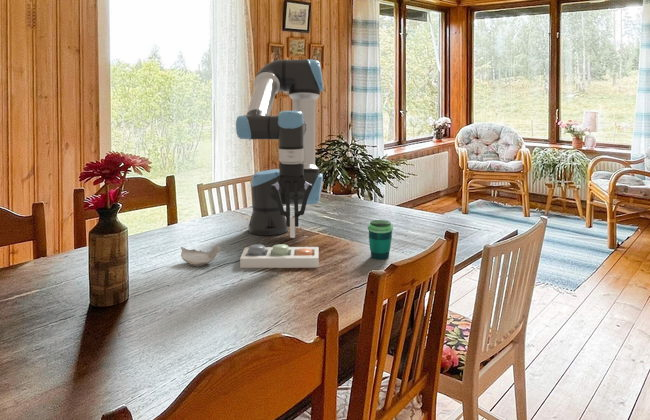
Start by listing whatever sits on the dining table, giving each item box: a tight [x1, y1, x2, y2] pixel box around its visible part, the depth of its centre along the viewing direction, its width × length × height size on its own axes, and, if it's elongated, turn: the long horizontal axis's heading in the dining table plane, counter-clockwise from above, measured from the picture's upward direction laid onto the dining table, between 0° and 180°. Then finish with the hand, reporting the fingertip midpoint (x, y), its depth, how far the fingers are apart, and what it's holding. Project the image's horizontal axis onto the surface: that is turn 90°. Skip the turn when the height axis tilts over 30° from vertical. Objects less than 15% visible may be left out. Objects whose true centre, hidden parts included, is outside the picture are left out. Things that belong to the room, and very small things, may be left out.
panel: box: [239, 246, 320, 269], centre depth 175 cm, size 24×12×3 cm, turn 90°
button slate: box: [248, 243, 266, 256], centre depth 174 cm, size 5×5×3 cm
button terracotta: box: [296, 249, 312, 256], centre depth 175 cm, size 5×5×3 cm
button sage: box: [272, 243, 289, 256], centre depth 174 cm, size 5×5×3 cm
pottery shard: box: [180, 245, 221, 267], centre depth 174 cm, size 10×11×5 cm
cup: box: [367, 219, 394, 261], centre depth 177 cm, size 8×8×12 cm
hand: (292, 236), depth 174 cm, fingers closed
